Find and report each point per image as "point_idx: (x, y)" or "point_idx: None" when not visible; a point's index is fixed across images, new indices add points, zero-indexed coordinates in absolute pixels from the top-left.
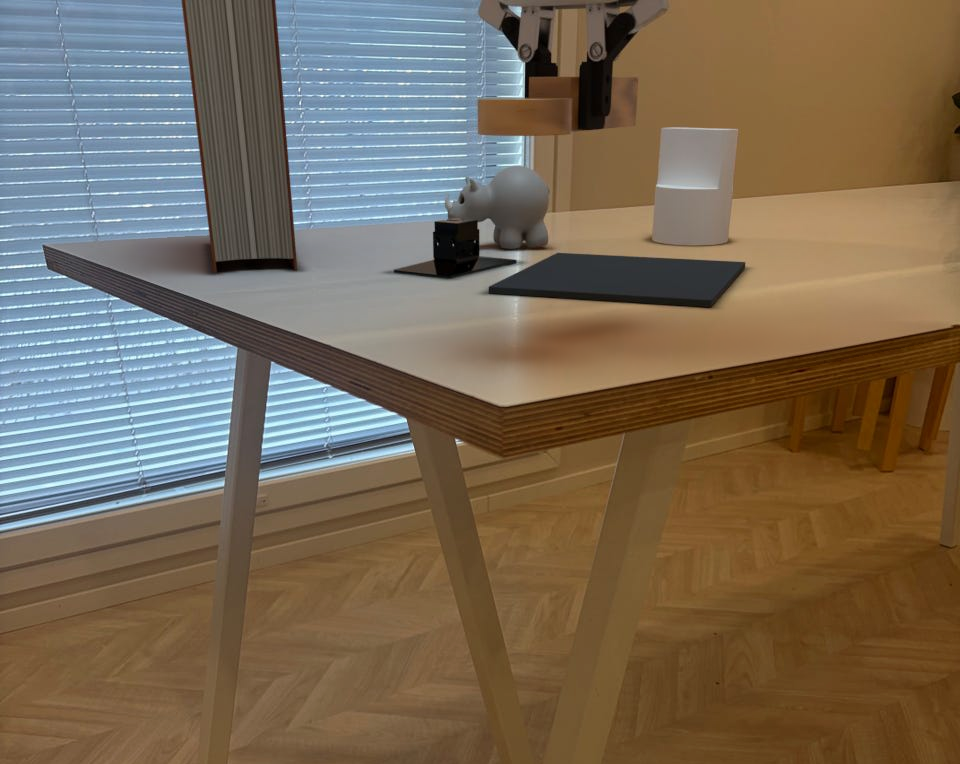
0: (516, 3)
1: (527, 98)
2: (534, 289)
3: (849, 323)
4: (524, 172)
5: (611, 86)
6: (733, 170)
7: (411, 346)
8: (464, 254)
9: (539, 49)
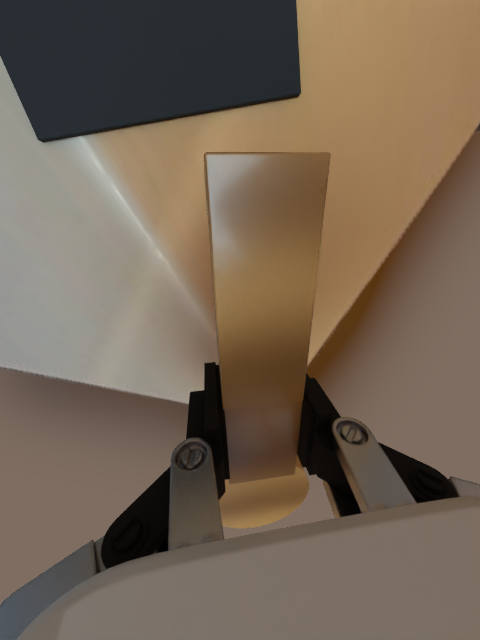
0: None
1: (261, 498)
2: (97, 128)
3: (425, 114)
4: None
5: (328, 399)
6: None
7: (159, 366)
8: None
9: (219, 496)
